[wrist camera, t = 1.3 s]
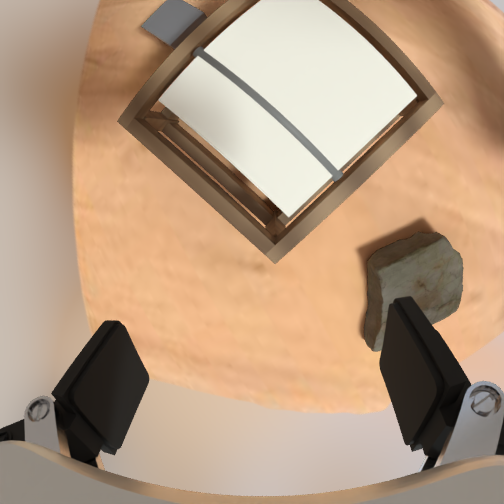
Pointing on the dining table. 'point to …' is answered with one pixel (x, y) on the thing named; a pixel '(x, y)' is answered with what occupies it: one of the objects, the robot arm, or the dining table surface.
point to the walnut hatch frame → (275, 233)
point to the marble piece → (412, 281)
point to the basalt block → (174, 22)
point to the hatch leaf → (288, 96)
